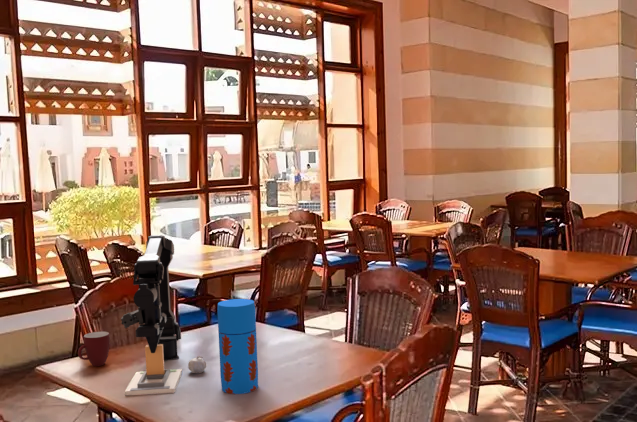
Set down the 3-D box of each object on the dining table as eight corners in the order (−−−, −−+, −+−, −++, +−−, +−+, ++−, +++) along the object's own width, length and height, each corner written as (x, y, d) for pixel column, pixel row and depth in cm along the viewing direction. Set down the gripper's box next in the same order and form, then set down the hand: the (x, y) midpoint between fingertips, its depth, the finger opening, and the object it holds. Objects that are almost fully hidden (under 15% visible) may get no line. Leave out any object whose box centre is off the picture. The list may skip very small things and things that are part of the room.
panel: (136, 375, 214) (136, 368, 214) (182, 372, 215) (181, 365, 215) (124, 395, 196) (124, 387, 196) (174, 392, 198) (174, 384, 197)
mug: (87, 371, 220) (85, 340, 220) (73, 367, 226) (71, 337, 225) (116, 363, 228) (114, 333, 228) (102, 359, 234) (100, 330, 233)
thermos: (242, 396, 192) (238, 308, 190) (213, 390, 198) (209, 305, 196) (265, 384, 201) (262, 300, 199) (237, 379, 207) (233, 297, 205)
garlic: (210, 370, 217) (209, 354, 217) (200, 375, 212) (200, 359, 212) (194, 368, 219) (194, 352, 219) (184, 373, 215) (183, 357, 214)
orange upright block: (148, 375, 210) (146, 344, 209) (165, 374, 210) (163, 343, 209) (146, 378, 206) (144, 347, 205) (163, 377, 206) (161, 346, 206)
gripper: (128, 296, 213) (131, 345, 214) (115, 309, 194) (119, 363, 195) (165, 294, 214) (168, 343, 215) (155, 307, 195) (158, 361, 196)
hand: (153, 352), depth 205 cm, fingers closed
